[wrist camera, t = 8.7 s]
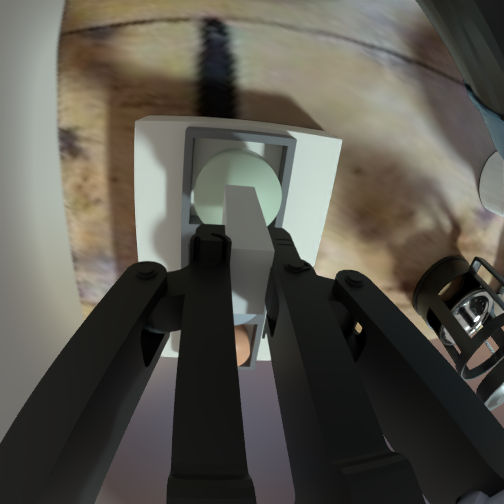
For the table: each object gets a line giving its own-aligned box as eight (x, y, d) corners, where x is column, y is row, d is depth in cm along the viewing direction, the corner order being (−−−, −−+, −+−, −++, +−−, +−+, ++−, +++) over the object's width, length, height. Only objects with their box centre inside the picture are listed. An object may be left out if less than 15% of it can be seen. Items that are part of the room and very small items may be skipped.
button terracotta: (193, 315, 26) (192, 331, 24) (251, 317, 27) (253, 333, 25) (194, 352, 28) (193, 368, 27) (245, 354, 29) (246, 370, 27)
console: (148, 115, 21) (128, 123, 16) (324, 131, 23) (350, 144, 18) (155, 328, 32) (148, 366, 27) (280, 333, 34) (289, 370, 29)
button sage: (199, 145, 17) (196, 152, 16) (281, 152, 18) (288, 160, 16) (194, 220, 20) (191, 234, 18) (270, 225, 20) (274, 240, 19)
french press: (443, 319, 37) (520, 447, 17) (397, 317, 35) (479, 474, 15) (484, 250, 31) (592, 372, 11) (441, 236, 29) (575, 389, 10)
